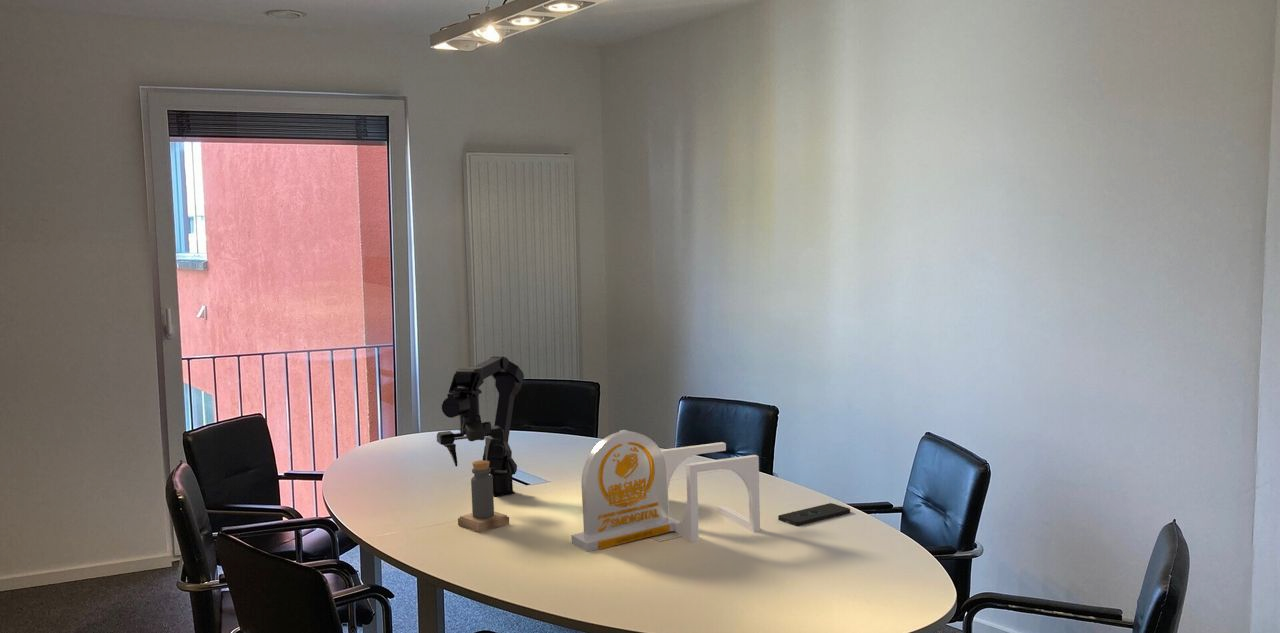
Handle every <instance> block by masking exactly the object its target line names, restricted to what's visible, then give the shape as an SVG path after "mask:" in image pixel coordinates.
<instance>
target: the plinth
mask: <svg viewBox="0 0 1280 633" xmlns="http://www.w3.org/2000/svg"><path fill="white" fill-rule="evenodd" d="M458 525H459V527H461V526H462V528H464V527H465V529H467V528H468V530H470V529H471V531H473V530H474V531H473V532H475V533H476V532H477V533H482V532H487V531H491V530H493V529H497V528H500V527H505V526H507V525H510V516H508V515H507V514H504V513H500V512H497V511H495V510H494V516H492V517H489V518H483V519H479V518H474V517H473V512H471V513H468V514H464V515H460V516H459V517H458V518H457V526H458Z"/></svg>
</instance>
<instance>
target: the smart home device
mask: <svg viewBox="0 0 1280 633" xmlns="http://www.w3.org/2000/svg"><path fill="white" fill-rule="evenodd" d="M850 514H851V508H849V507H847V506H843V505H839V504H836V503H832V502H829V503H825V504H822V505H821V504H820V505H816V506H812V507H808V508H804V509H799V510H795V511H792V512H787V513H782V514H778V516H777V517H778V518H777V520H778V521H780V522H783V523H786V524H789V525H790V526H791V525H792V526H795V527H800V526H804V525H810V524H813V523H816V522H820V521H821V522H822V521H825V520H829V519H832V518H833V519H834V518H837V517H840V516H845V515H850Z"/></svg>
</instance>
